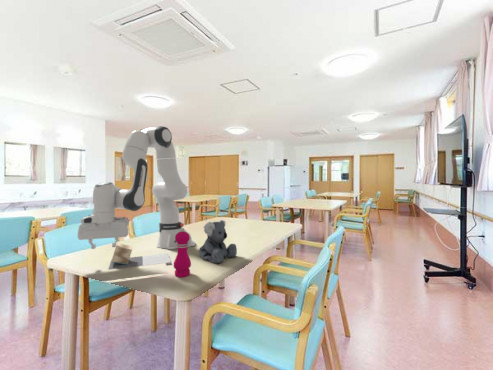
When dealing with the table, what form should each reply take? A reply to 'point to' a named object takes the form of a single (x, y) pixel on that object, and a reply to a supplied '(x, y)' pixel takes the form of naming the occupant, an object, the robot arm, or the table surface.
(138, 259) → the mat
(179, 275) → the pepper mill
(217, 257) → the koala plush
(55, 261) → the table surface
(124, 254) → the beech block
